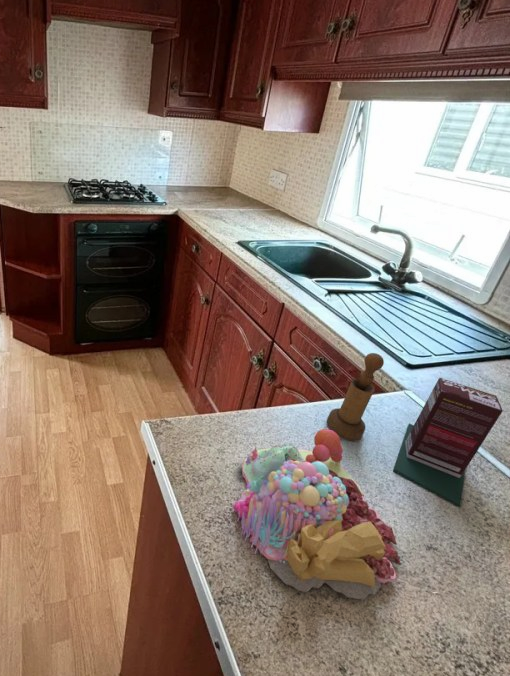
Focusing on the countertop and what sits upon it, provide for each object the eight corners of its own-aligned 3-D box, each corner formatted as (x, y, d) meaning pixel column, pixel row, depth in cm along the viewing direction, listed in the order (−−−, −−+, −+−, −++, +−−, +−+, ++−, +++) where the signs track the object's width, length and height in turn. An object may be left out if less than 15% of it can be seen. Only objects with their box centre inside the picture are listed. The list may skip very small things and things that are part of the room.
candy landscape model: (432, 589, 55) (464, 548, 51) (277, 620, 50) (298, 578, 45) (322, 444, 76) (338, 407, 72) (206, 455, 71) (216, 416, 67)
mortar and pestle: (321, 426, 81) (351, 352, 73) (333, 411, 85) (363, 340, 77) (355, 446, 77) (391, 371, 69) (366, 430, 81) (402, 357, 73)
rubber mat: (408, 424, 84) (409, 423, 83) (466, 452, 78) (467, 451, 78) (392, 470, 72) (393, 469, 72) (459, 507, 67) (460, 505, 67)
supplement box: (455, 460, 75) (498, 395, 68) (459, 479, 71) (505, 411, 64) (403, 440, 79) (438, 375, 72) (404, 457, 75) (442, 390, 68)
